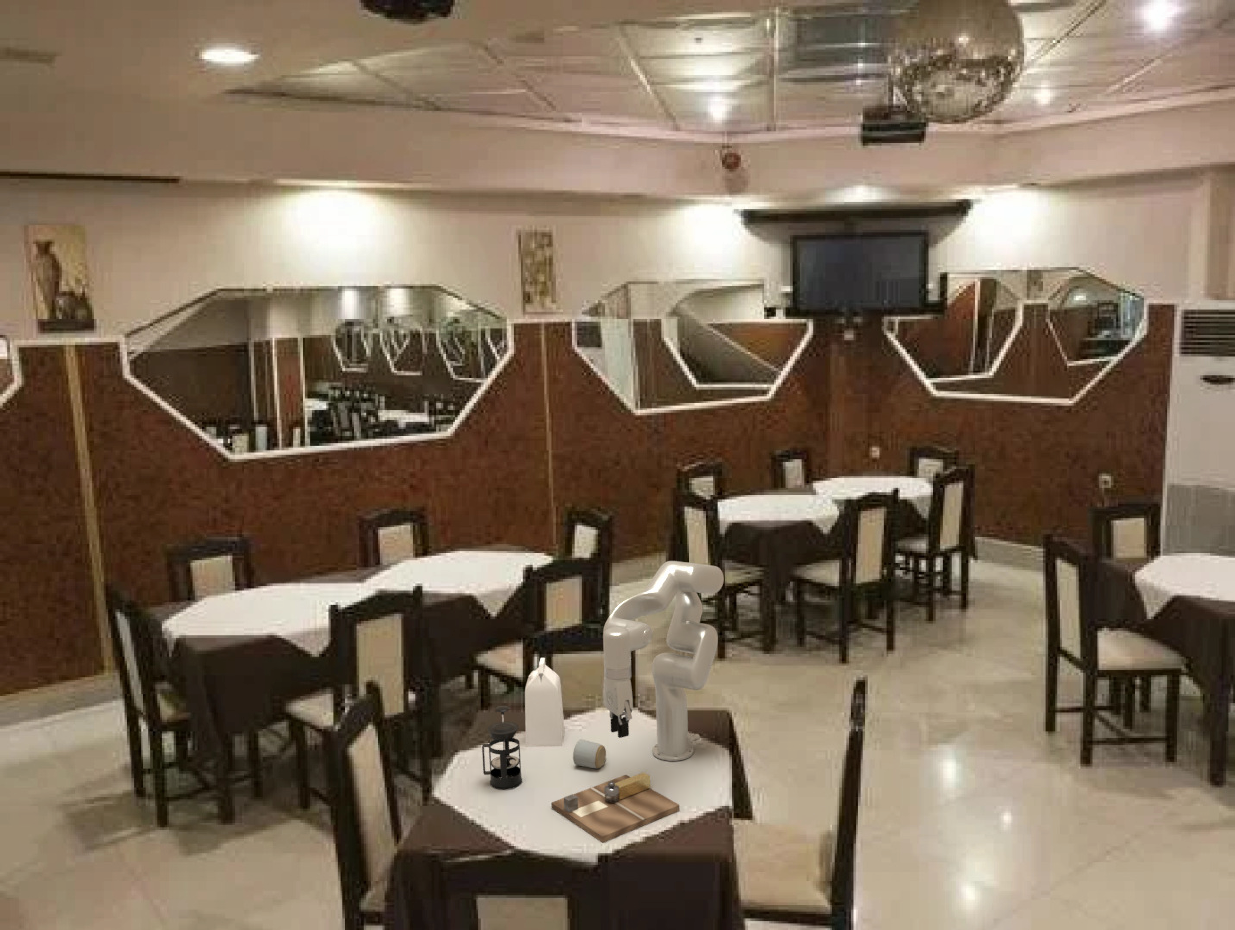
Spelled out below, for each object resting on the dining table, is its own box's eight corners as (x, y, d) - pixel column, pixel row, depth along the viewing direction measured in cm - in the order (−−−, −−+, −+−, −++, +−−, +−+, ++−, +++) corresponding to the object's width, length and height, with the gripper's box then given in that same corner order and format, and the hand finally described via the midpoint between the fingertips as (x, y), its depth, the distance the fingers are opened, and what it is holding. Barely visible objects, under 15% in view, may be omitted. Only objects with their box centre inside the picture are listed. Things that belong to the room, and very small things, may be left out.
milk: (562, 745, 322) (558, 667, 318) (525, 746, 322) (521, 668, 318) (564, 730, 334) (561, 654, 330) (529, 731, 334) (525, 655, 330)
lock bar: (610, 804, 279) (610, 792, 278) (601, 799, 282) (601, 787, 282) (651, 788, 287) (651, 776, 287) (642, 783, 291) (642, 771, 290)
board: (626, 779, 297) (625, 763, 297) (679, 810, 278) (679, 792, 278) (551, 807, 282) (550, 790, 281) (602, 842, 263) (602, 823, 262)
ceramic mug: (597, 773, 302) (596, 748, 301) (572, 769, 305) (572, 744, 304) (612, 759, 312) (611, 735, 311) (587, 755, 315) (587, 731, 314)
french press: (525, 774, 303) (522, 700, 299) (523, 789, 294) (519, 713, 290) (486, 775, 303) (482, 702, 299) (482, 790, 294) (478, 714, 290)
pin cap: (612, 784, 282) (612, 780, 282) (616, 786, 281) (616, 782, 281) (606, 786, 281) (606, 782, 281) (610, 788, 280) (610, 784, 280)
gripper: (592, 665, 291) (595, 726, 294) (619, 683, 276) (621, 747, 279) (616, 660, 294) (618, 721, 297) (643, 678, 280) (645, 741, 283)
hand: (619, 733), depth 288 cm, fingers open, 3 cm apart
